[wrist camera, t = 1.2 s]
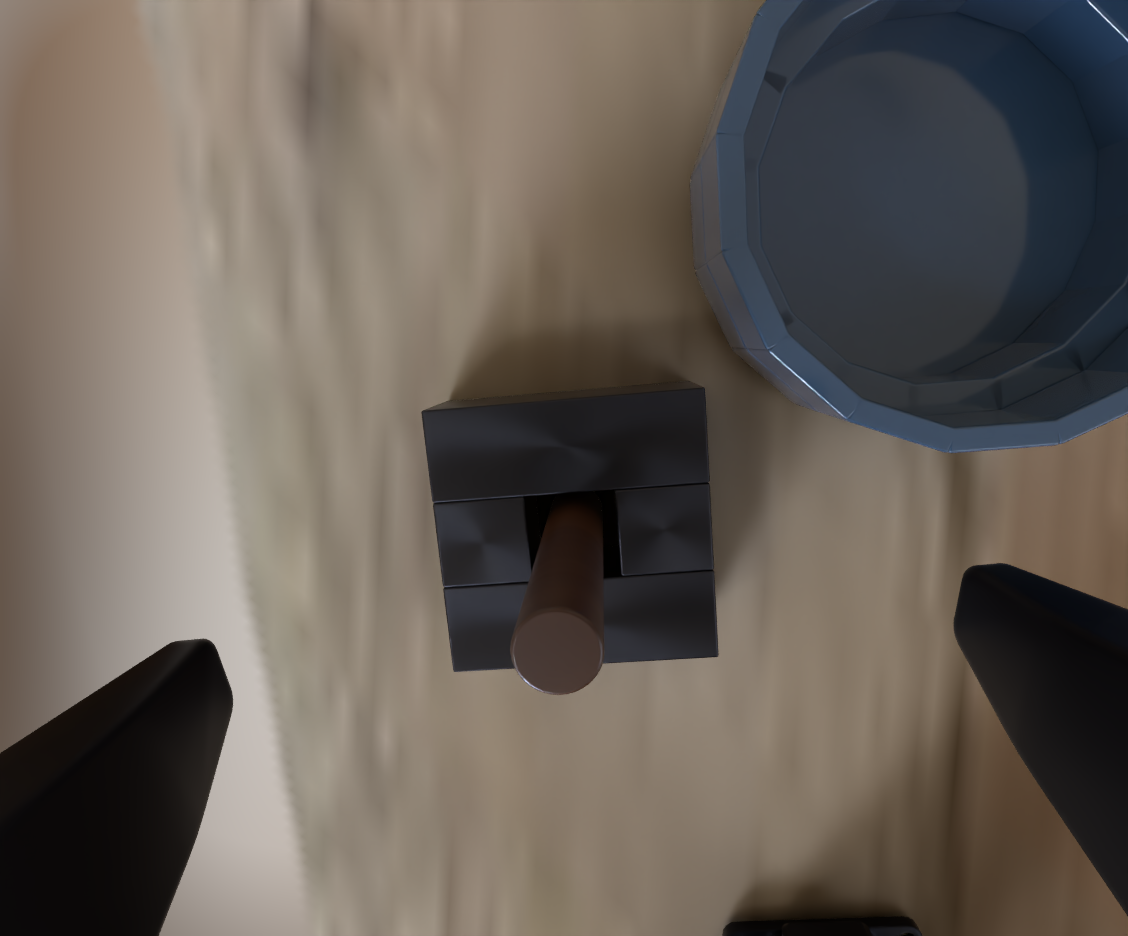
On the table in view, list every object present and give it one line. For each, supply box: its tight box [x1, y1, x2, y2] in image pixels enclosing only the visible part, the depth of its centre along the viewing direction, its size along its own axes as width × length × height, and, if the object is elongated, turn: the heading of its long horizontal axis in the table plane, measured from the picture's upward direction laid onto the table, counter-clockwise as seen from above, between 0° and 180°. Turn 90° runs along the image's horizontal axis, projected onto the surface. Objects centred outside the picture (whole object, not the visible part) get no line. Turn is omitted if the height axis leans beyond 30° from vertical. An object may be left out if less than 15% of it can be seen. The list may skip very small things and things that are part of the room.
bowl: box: [690, 0, 1128, 453], centre depth 17 cm, size 12×12×5 cm
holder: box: [422, 381, 718, 672], centre depth 20 cm, size 7×7×3 cm
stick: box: [510, 491, 604, 695], centre depth 17 cm, size 2×2×10 cm
